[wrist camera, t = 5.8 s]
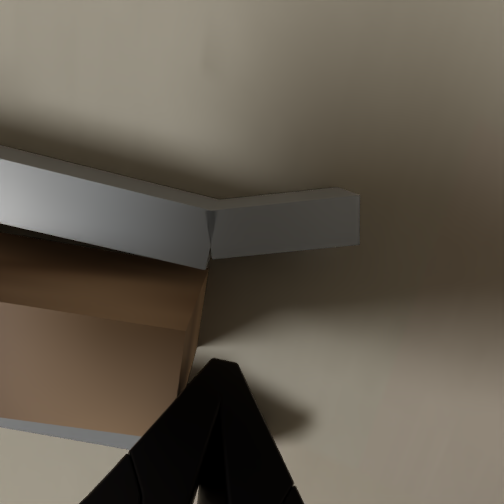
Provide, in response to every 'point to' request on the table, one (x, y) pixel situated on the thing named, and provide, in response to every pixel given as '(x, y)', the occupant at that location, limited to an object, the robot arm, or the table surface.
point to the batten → (94, 334)
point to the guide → (162, 227)
